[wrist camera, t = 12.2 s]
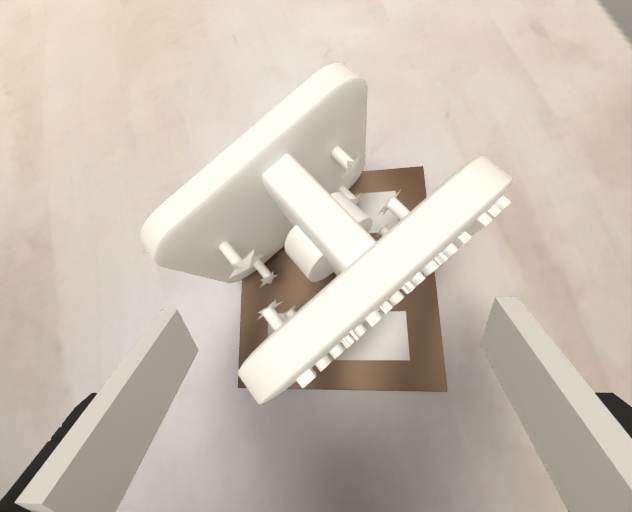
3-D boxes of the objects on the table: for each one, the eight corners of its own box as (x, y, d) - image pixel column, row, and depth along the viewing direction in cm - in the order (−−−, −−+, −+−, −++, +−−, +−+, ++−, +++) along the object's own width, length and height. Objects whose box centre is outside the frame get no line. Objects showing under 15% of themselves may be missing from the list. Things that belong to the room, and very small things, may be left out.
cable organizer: (359, 160, 24) (359, 28, 13) (450, 245, 22) (548, 171, 10) (230, 272, 24) (117, 235, 13) (307, 373, 21) (249, 438, 10)
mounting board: (245, 383, 24) (236, 388, 22) (251, 188, 27) (244, 180, 26) (441, 386, 22) (448, 392, 20) (419, 174, 25) (424, 164, 24)
